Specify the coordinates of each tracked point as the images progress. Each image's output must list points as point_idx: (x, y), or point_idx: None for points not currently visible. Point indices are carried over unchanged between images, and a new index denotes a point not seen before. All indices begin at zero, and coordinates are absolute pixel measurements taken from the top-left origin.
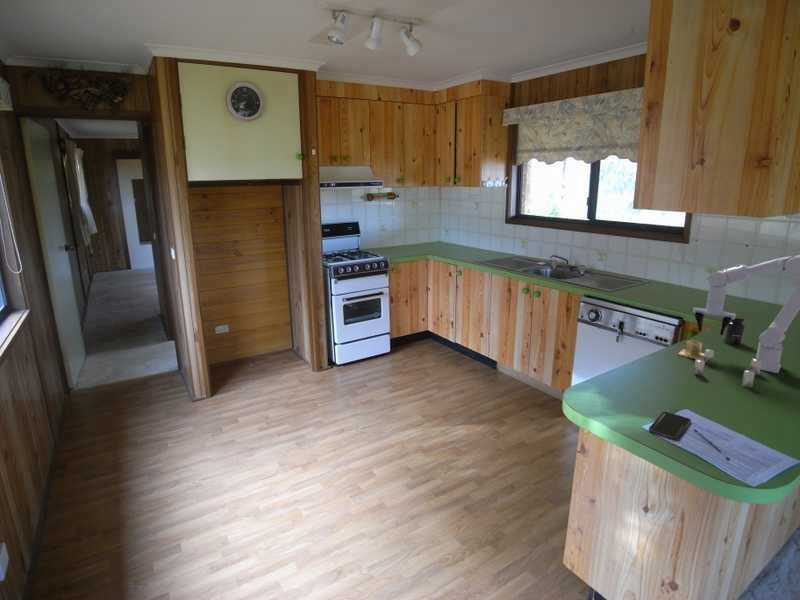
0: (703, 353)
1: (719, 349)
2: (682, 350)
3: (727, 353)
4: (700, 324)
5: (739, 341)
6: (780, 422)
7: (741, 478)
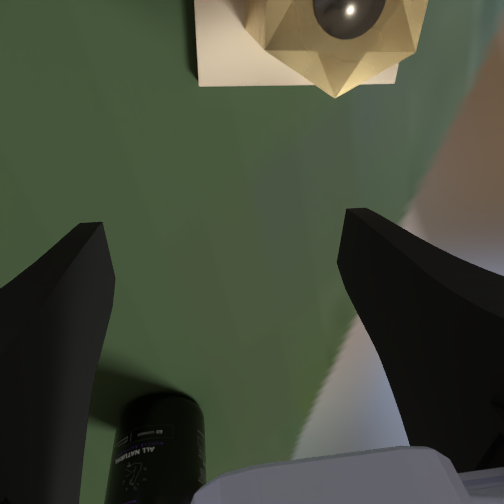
0: (230, 81)
1: (178, 291)
2: None
3: (111, 251)
4: (402, 254)
5: (120, 427)
6: None
7: None
